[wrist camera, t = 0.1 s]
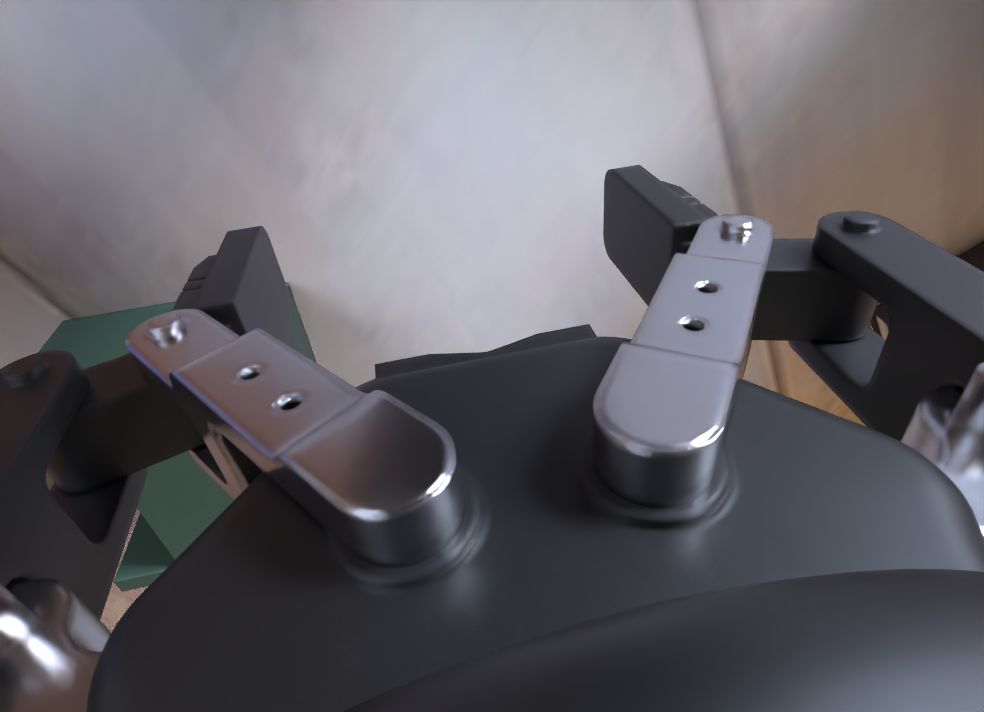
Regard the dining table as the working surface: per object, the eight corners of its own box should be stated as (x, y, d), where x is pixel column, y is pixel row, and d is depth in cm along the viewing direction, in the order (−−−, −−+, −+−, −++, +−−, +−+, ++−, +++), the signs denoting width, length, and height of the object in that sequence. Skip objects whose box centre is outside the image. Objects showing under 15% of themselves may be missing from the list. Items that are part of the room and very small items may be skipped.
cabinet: (62, 320, 31) (-23, 426, 24) (288, 281, 32) (268, 372, 25) (228, 575, 45) (204, 687, 38) (380, 542, 46) (383, 645, 39)
